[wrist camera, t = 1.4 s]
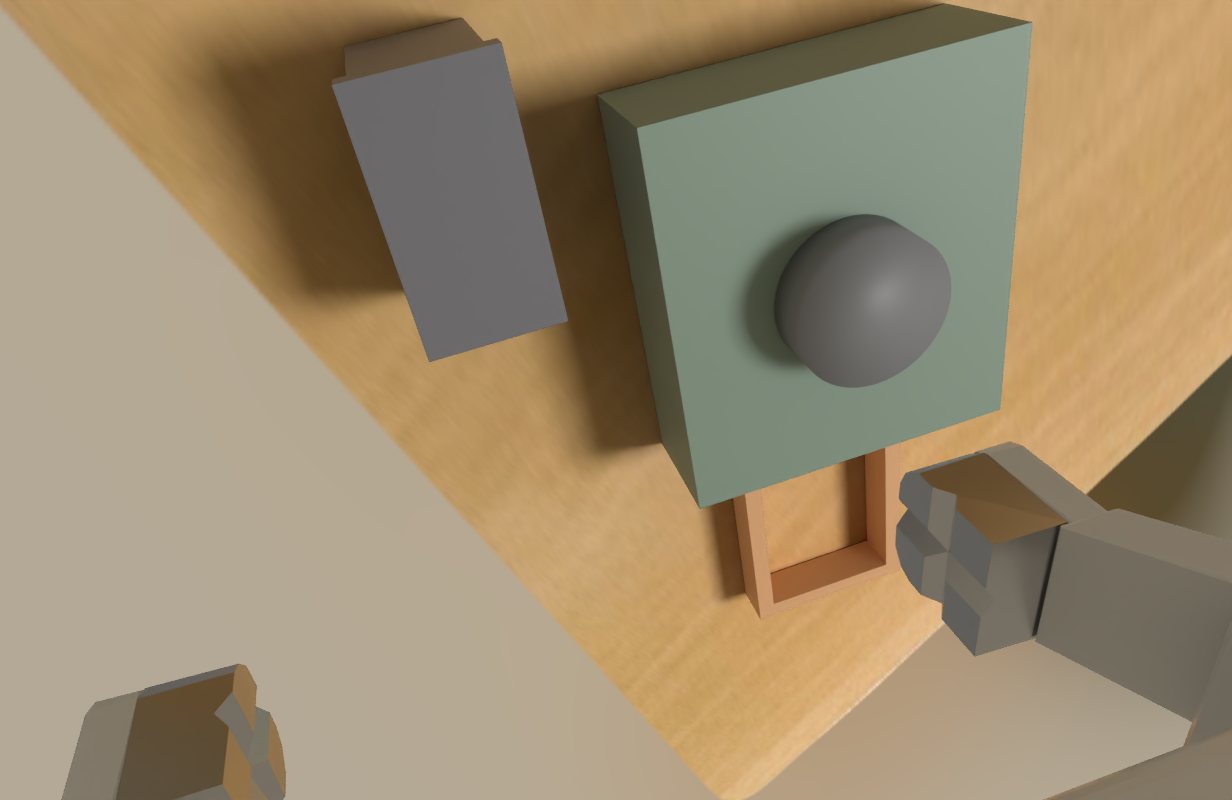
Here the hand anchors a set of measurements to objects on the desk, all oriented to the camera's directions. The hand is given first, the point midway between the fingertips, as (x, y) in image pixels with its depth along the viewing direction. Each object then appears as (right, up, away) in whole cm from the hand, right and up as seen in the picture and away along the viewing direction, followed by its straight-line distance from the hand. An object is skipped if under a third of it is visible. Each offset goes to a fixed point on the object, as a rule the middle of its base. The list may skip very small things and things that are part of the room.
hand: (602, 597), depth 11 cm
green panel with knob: (+9, +4, +29) cm, 31 cm away
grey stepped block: (-6, +11, +21) cm, 24 cm away
